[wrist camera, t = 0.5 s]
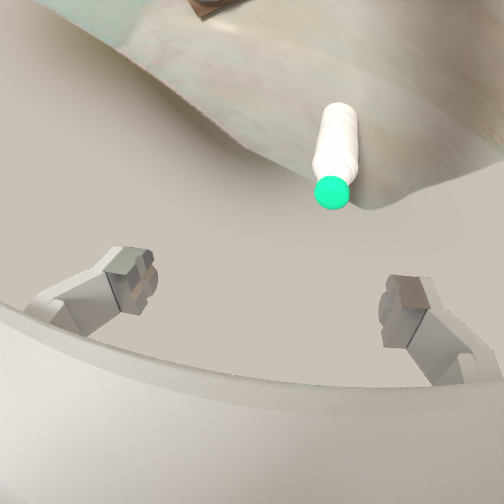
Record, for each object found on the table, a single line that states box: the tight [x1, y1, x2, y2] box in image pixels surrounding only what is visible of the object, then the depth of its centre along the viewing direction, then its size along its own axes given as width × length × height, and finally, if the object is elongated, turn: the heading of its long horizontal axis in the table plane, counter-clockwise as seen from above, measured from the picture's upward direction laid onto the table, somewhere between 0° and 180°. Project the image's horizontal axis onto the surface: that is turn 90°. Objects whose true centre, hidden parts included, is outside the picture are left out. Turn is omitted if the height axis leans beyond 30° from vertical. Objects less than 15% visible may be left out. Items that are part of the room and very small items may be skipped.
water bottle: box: [312, 103, 358, 210], centre depth 44 cm, size 7×7×25 cm
